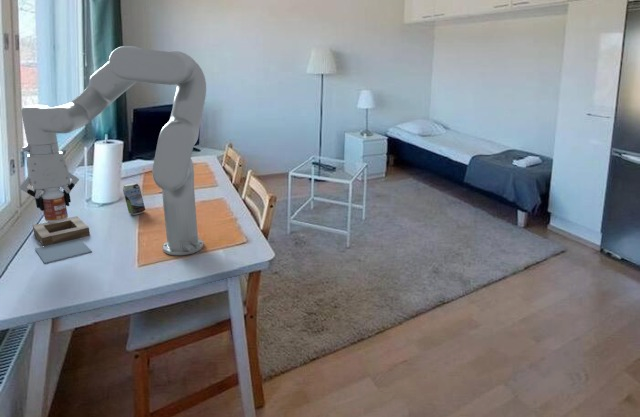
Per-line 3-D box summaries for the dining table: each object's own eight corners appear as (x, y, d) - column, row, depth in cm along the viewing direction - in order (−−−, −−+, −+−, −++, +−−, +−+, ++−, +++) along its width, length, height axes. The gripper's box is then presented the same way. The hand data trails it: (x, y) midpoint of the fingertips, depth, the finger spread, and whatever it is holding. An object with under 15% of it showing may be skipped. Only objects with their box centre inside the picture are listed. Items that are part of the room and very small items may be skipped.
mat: (91, 252, 142) (91, 250, 142) (44, 264, 134) (44, 262, 134) (79, 239, 151) (79, 238, 151) (35, 249, 143) (35, 248, 143)
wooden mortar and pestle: (90, 235, 154) (82, 191, 149) (43, 246, 145) (33, 199, 140) (74, 219, 168) (66, 178, 162) (30, 228, 159) (21, 185, 153)
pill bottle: (59, 223, 135) (52, 188, 132) (40, 222, 136) (33, 187, 133) (72, 216, 141) (66, 182, 137) (54, 215, 142) (48, 181, 138)
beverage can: (139, 217, 171) (136, 186, 167) (122, 215, 173) (118, 185, 169) (149, 211, 177) (145, 182, 173) (132, 210, 178) (128, 180, 174)
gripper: (11, 155, 123) (24, 216, 129) (79, 147, 134) (88, 204, 140) (6, 150, 129) (19, 209, 135) (72, 143, 139) (81, 198, 145)
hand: (54, 206), depth 137 cm, fingers closed on pill bottle, 6 cm apart
